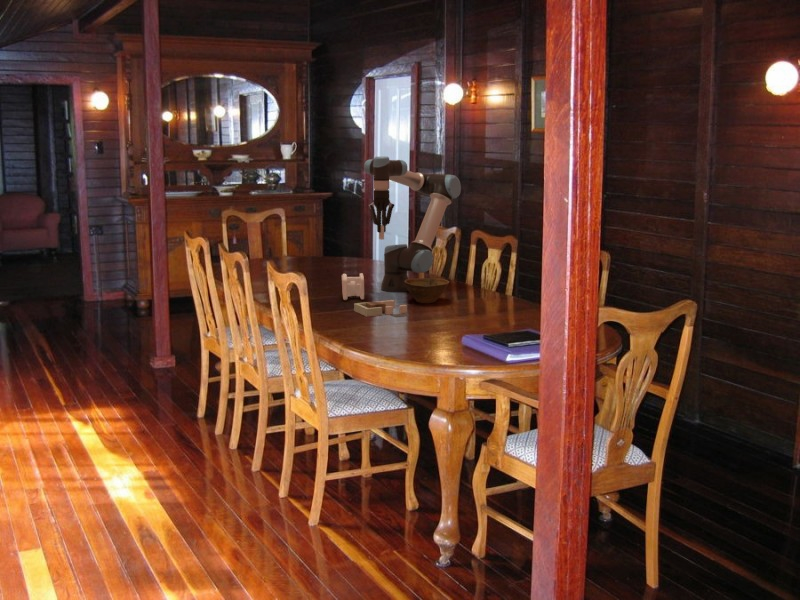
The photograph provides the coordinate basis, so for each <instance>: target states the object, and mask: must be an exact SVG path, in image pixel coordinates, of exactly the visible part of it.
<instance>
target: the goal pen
mask: <svg viewBox="0 0 800 600" xmlns="http://www.w3.org/2000/svg"><path fill="white" fill-rule="evenodd" d="M369 302H370V301H368V302H367V301H366V302H365V301H364V302H357V303H353V307H354V308H353V311H354V312H355V313H357V314H360V315H362V316H364V317H365V318H367V317H369V318H370V317H378V316H379V317H380V316H383V314H382V307H375V308H367V307H366V303H369Z"/></svg>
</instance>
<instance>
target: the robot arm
mask: <svg viewBox="0 0 800 600" xmlns="http://www.w3.org/2000/svg"><path fill="white" fill-rule="evenodd" d="M363 165H364V166H363V170H364V173H365V174H367V175H370V176H373V183H372V184H373V185H372V186H373V201H372V202H371V203H370V204H368V206H367V207H368V208H369V210H370V213H371V218H372V219H371V220H372V223H373V224H374V225H375V226H377V227H376V230H377V231H376V232H377V233H378V240H385V233H386V232H387V231H386V229H387V228H386V226H388V225H389V224H390V223H391V219H392V213H393V210H394V208H395V203H392V202H391V200H390V181H391V182H395V183H397V184H400V185H403V186H406V187H407V188H408V187H409V188H410V189H411V190H412V191H415V192H417V193H420V194H422V195H425V196H428V197H430V202H429V205H428V207H427V210H426V211H425V215H424V217H423V219H422V222H421V225H420V227H419V230H418V232H417V234H416V237H415V240H413V241H411V242H410V244H409V246H408V244H407V243H403V244H402V243H401V244H400V243H399V244H392V245H391V244H390V245H386V246H384V247H385V248H384V254H383V260H384V262H383V263H384V264H383V265H384V266H383V267H384V275H383V279H382V281H381V285H380V290H381V291H385V292H391V293H395V292H396V293H397V292H398V293H399V292H401V293H402V292H407V291H408V289H407V287H406V285H405V282H404V281H405V280H407V279H409V275H408V272H412V273H416V274H417V273H418V274H420V273H421V274H422V273H427V272H428V271H430V269H431V268H432V266H433V264H434V261H435V259H434V253H433V249H432V246H433V242H434V240H435V237H436V236H437V235H436V234H437V232H438V229H439V227H440V224H441V222H442V219H443V217H444V214H445V211H446V209H447V207H448V206H449V205H451V204H452V202H453V199H457V198H458V197H459V196H460V194H461V191H462V185H461V181H460V179H459V178H458V177H457V175H454V174H450V173H449V174H439V173H422V172H413V171H410V170H408V164H407V162H406V161H404V160H402V159H401V160H400V159H394V160H393V159H390V157H389V156H375V157H373V159H367V160H366V161H365V162H364V164H363ZM408 292H409V291H408Z"/></svg>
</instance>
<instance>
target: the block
mask: <svg viewBox="0 0 800 600" xmlns="http://www.w3.org/2000/svg"><path fill="white" fill-rule="evenodd" d="M368 302H369V303H366V307H367V308H375V307H382V315H383V314H385V307H386V304H385V303H383V302H377V301H372V302H371V301H368Z"/></svg>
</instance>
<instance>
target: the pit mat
mask: <svg viewBox="0 0 800 600" xmlns="http://www.w3.org/2000/svg"><path fill="white" fill-rule="evenodd" d="M390 316H392V317H394V318H402V317H403V318H404V317H410V316H411V315H410V314H408V313H395V314H394V313H393V314H391V315H390Z"/></svg>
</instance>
